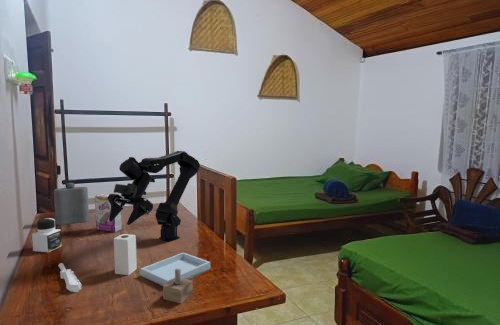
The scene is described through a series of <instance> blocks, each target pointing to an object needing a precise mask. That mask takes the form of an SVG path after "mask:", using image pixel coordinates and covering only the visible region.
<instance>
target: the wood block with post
mask: <svg viewBox="0 0 500 325" xmlns="http://www.w3.org/2000/svg"><path fill="white" fill-rule="evenodd" d="M193 294H194V281H193V280H192V279H188V280H187V279H183V278H181V269H175V278H174V279H172V280H171V281H169V282H168V283H166V284H165V285H163V286H162V296H163V300H165V301H169V302H173V303H177V304H182V303H183V302H185V301H186V300H187V299H189V298H190V297H191V296H192V295H193Z"/></svg>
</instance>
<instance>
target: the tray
mask: <svg viewBox="0 0 500 325" xmlns="http://www.w3.org/2000/svg"><path fill="white" fill-rule="evenodd" d="M175 269H181V278H183V279H187V280H191V279H192V278H194V277H196V276H199V275H201V274H203V273H205V272H207V271H210V270H211V261H208V260H206V259H204V258H200V257H197V256H195V255H192V254H189V253H186V252H181V253H178V254H176V255H173V256H171V257H167V258H165V259H162V260H159V261H157V262H154V263H152V264H149V265H147V266H143V267H142V268H140V276H141V277H143V278H145V279H147V280H148V281H151V282H153V283H155V284H157V285H159V286H161V287H163V285H165V284H166V283H168V282H169V281H171V280H172V279H174V278H175Z"/></svg>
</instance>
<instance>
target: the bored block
mask: <svg viewBox="0 0 500 325" xmlns="http://www.w3.org/2000/svg"><path fill="white" fill-rule="evenodd" d="M136 238H137V237H136V235H135V234H126V233H122V234H119V235H118V236H115V237H114V238H113V250H114V251H113V252H114V253H113V256H114V257H113V258H114V274H115V275H125V276H130V275H131V274H132V273H133V272H135V271H136V270H137V269H138V268H137V267H138V266H137V265H138V263H137V262H138V261H137V240H136Z"/></svg>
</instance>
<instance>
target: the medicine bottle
mask: <svg viewBox="0 0 500 325" xmlns="http://www.w3.org/2000/svg"><path fill="white" fill-rule="evenodd" d="M36 226H37V227H36V228H37V229H36V230H37V231H35V232H33V233H31V236H32V237H31V238H32V239H31V241H32V252H39V253H50V252H52V251H55V250H56V249H59V248H61V247H62V230H61V229H59V228H57V229H56V221H55V218H52V217H51V218H50V217H46V218H41V219H39V220H37V221H36Z"/></svg>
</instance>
